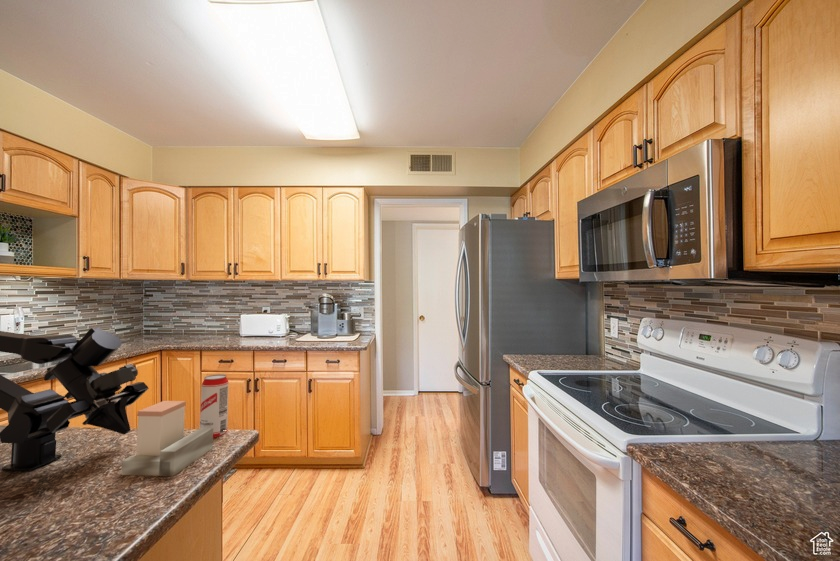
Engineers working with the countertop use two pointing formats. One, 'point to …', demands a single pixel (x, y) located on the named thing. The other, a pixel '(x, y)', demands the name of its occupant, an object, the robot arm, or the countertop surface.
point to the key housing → (171, 456)
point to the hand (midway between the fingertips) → (127, 432)
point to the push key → (160, 427)
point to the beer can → (214, 404)
